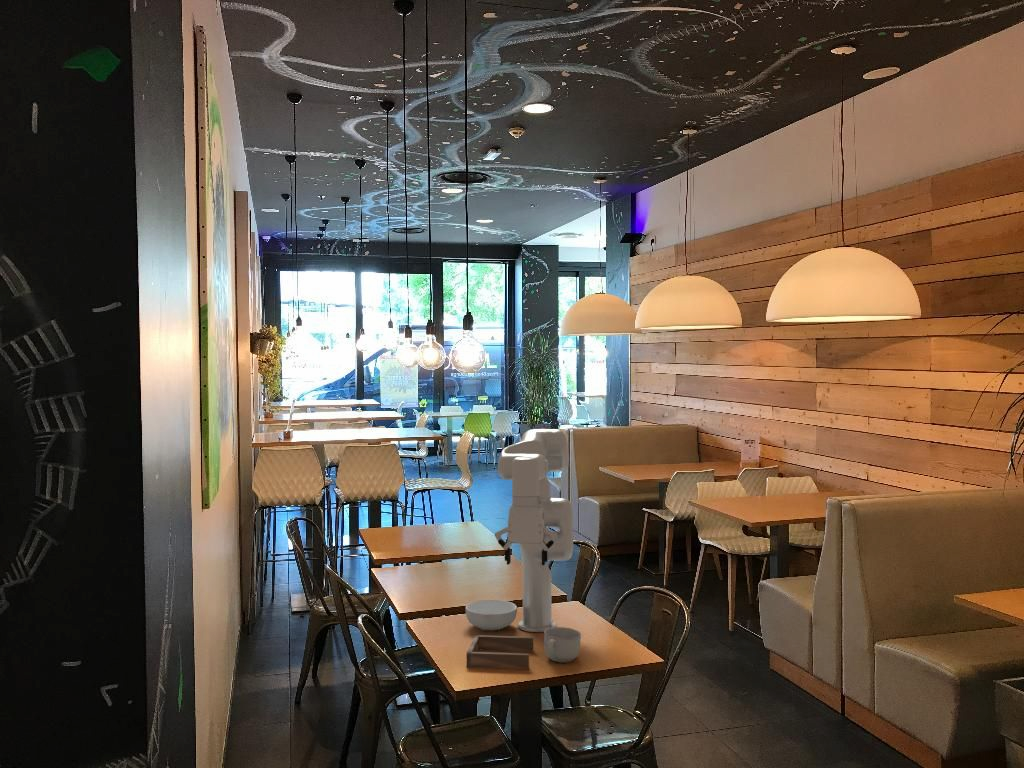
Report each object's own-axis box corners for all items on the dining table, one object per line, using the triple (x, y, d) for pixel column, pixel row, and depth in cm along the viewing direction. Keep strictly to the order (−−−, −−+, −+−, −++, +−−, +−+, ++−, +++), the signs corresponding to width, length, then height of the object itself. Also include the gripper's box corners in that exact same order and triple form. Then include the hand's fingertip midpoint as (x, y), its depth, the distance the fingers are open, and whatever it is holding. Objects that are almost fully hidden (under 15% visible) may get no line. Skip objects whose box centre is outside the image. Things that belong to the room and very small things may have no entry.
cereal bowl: (455, 631, 267) (455, 609, 267) (481, 617, 282) (481, 597, 282) (501, 638, 259) (501, 616, 259) (525, 624, 274) (525, 603, 274)
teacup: (558, 650, 248) (558, 624, 248) (588, 658, 241) (588, 631, 241) (529, 663, 237) (529, 635, 237) (560, 671, 230) (560, 642, 230)
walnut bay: (475, 648, 250) (475, 635, 250) (533, 650, 248) (533, 637, 248) (466, 667, 233) (466, 653, 233) (528, 669, 232) (528, 655, 231)
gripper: (558, 500, 229) (558, 561, 229) (496, 499, 231) (496, 560, 231) (556, 504, 222) (556, 567, 222) (492, 503, 224) (493, 566, 224)
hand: (526, 563), depth 226 cm, fingers open, 9 cm apart
